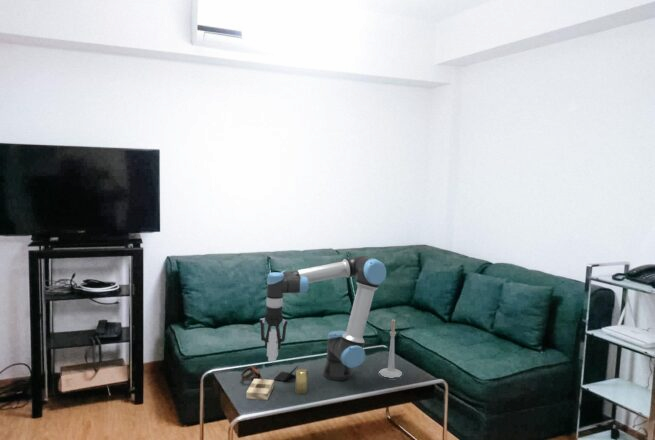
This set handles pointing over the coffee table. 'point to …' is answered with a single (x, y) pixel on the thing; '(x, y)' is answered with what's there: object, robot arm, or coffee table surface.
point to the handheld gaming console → (283, 376)
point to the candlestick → (391, 357)
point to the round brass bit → (301, 381)
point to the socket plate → (260, 389)
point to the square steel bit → (272, 345)
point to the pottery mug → (251, 373)
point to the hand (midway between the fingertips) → (272, 355)
